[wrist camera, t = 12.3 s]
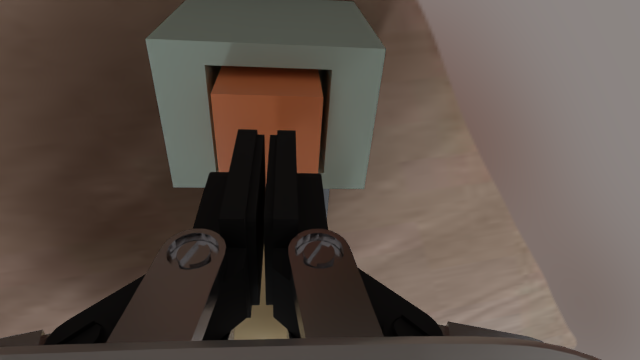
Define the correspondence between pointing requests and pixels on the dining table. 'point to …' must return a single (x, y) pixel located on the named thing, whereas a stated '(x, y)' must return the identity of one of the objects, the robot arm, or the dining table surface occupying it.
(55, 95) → the dining table surface
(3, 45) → the dining table surface
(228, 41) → the green button housing
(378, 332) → the robot arm
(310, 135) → the button
